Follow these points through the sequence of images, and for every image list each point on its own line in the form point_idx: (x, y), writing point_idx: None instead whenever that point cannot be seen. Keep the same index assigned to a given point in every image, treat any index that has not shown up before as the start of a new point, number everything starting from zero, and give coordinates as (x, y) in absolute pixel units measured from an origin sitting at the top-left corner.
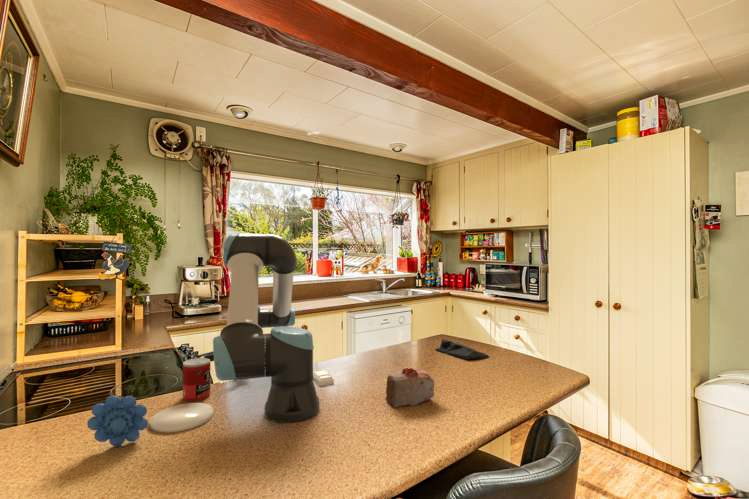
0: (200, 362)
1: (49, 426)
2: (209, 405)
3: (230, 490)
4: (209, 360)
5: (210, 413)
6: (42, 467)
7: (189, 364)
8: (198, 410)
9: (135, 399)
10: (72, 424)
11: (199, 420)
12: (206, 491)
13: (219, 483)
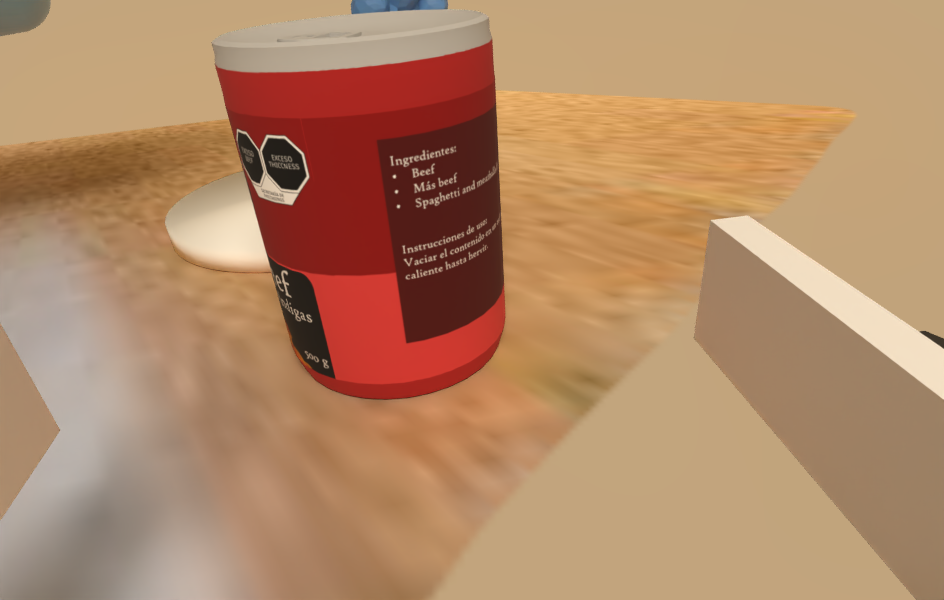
0: (308, 38)
1: (762, 127)
2: (203, 243)
3: (46, 141)
4: (217, 39)
5: (169, 214)
6: (503, 103)
7: (392, 28)
8: (244, 215)
9: (353, 3)
10: (706, 140)
11: (201, 189)
12: (97, 134)
13: (72, 143)
